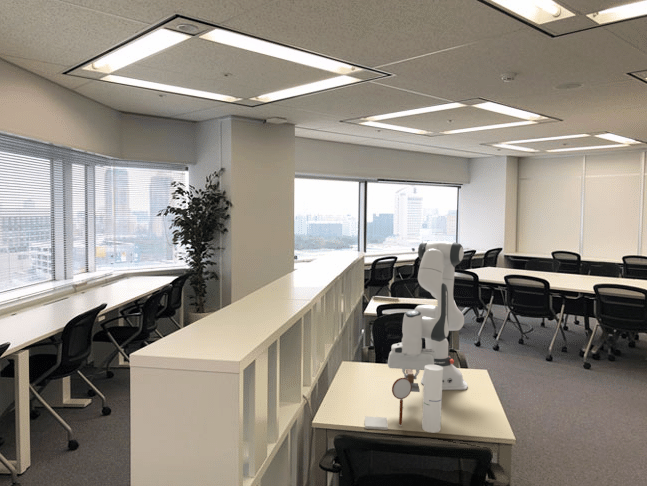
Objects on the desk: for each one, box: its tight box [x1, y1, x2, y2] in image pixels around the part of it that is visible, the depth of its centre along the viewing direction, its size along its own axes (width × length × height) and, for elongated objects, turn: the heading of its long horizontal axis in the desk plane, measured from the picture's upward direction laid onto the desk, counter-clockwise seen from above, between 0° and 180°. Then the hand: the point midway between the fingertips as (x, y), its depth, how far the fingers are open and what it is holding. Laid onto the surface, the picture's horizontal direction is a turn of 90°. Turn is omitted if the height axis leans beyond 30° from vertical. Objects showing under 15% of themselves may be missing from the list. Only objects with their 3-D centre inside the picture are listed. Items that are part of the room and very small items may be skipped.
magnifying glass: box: [391, 377, 412, 427], centre depth 200 cm, size 9×2×20 cm, turn 110°
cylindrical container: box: [421, 364, 443, 433], centre depth 198 cm, size 7×7×25 cm
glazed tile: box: [364, 415, 389, 431], centre depth 202 cm, size 9×2×9 cm
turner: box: [405, 369, 420, 393], centre depth 220 cm, size 22×6×4 cm, turn 174°
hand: (410, 378), depth 221 cm, fingers closed on turner, 2 cm apart
